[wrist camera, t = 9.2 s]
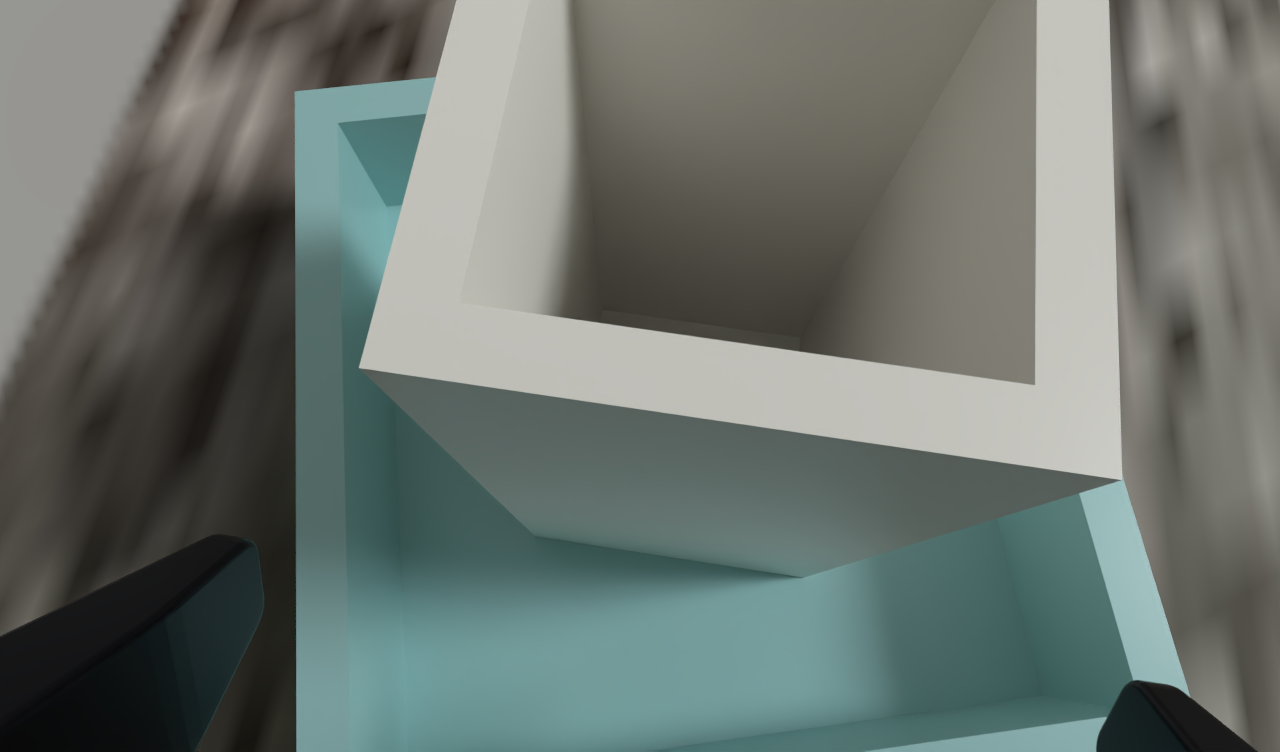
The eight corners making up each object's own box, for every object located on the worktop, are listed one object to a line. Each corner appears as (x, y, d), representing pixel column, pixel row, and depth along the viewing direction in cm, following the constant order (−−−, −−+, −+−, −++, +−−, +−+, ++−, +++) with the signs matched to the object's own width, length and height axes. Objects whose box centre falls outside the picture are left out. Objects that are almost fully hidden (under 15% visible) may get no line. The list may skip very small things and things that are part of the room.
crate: (1072, 729, 16) (1210, 761, 12) (379, 829, 15) (296, 894, 12) (916, 137, 20) (982, 21, 16) (361, 197, 19) (294, 91, 16)
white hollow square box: (825, 325, 18) (1105, -119, 7) (803, 577, 16) (1122, 480, 6) (580, 290, 18) (507, -189, 7) (535, 536, 16) (359, 367, 6)
